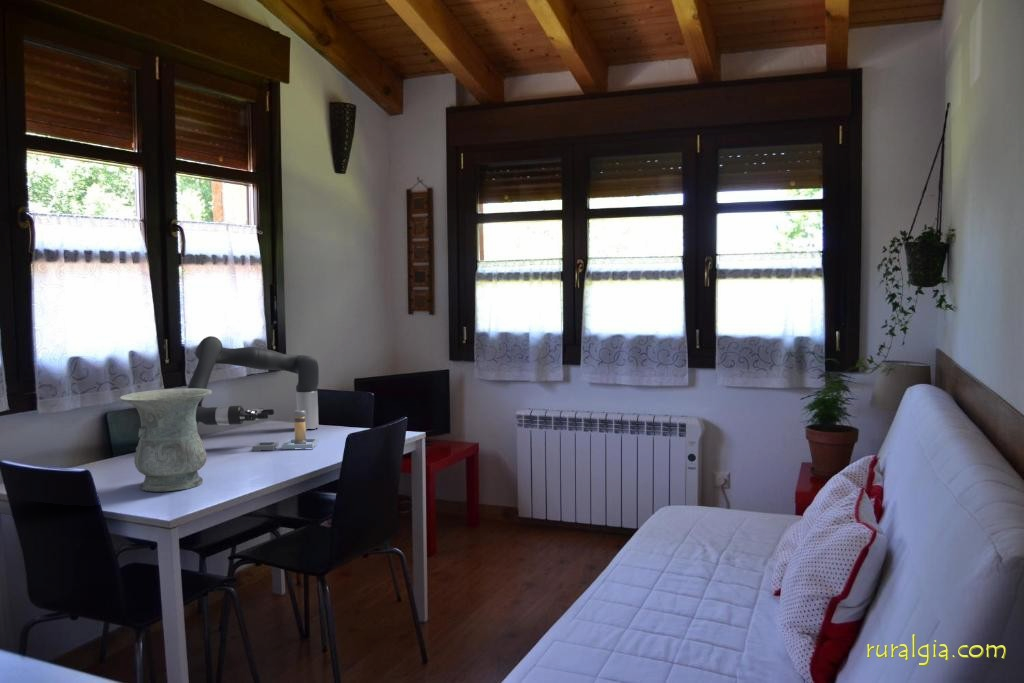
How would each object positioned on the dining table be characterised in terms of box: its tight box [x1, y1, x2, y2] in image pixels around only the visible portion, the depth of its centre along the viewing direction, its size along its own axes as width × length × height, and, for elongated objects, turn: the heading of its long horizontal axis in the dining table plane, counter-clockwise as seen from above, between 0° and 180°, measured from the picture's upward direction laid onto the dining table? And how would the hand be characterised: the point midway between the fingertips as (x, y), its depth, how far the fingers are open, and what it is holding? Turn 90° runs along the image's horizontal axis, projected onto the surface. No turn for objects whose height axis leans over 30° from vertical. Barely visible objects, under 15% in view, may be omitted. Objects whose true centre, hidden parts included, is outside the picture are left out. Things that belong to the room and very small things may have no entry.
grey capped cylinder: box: [293, 409, 307, 444], centre depth 303 cm, size 5×5×14 cm
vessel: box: [119, 387, 213, 493], centre depth 244 cm, size 27×27×30 cm
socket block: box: [251, 441, 280, 452], centre depth 300 cm, size 8×8×2 cm
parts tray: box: [281, 437, 320, 450], centre depth 303 cm, size 12×12×2 cm
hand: (270, 413), depth 303 cm, fingers open, 8 cm apart
